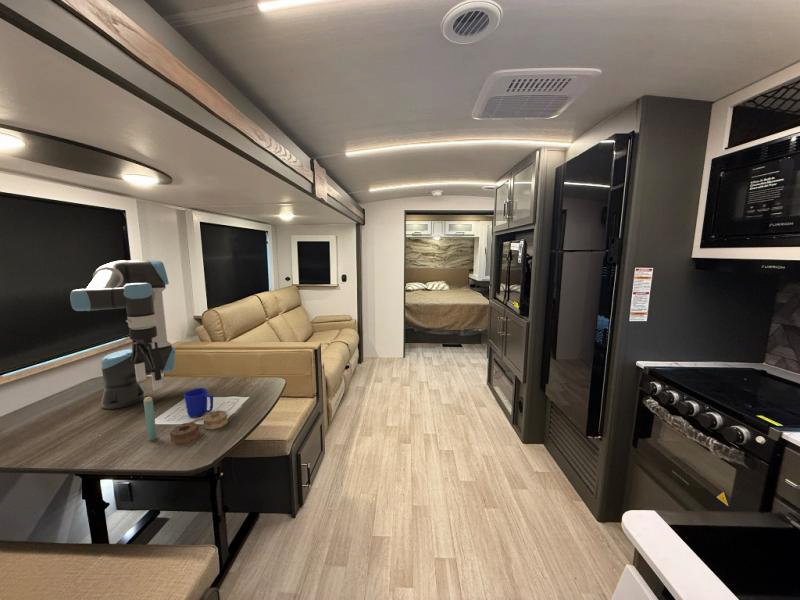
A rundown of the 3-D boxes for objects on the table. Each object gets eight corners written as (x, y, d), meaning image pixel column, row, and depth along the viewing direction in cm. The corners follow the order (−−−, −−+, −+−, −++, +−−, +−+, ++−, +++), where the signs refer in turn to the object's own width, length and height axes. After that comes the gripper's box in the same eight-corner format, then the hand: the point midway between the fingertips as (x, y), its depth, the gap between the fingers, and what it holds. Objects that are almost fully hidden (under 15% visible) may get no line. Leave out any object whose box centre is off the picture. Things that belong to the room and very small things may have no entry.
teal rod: (147, 439, 114) (142, 397, 112) (155, 435, 116) (150, 394, 114) (149, 441, 113) (144, 399, 110) (158, 437, 115) (153, 396, 112)
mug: (206, 421, 126) (203, 398, 125) (181, 418, 129) (178, 395, 127) (221, 411, 134) (219, 389, 133) (197, 408, 137) (195, 387, 135)
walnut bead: (168, 438, 114) (167, 430, 114) (191, 428, 121) (191, 420, 120) (178, 446, 110) (177, 436, 110) (202, 435, 117) (201, 426, 116)
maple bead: (199, 428, 121) (198, 419, 121) (214, 417, 129) (213, 409, 129) (217, 430, 120) (216, 421, 120) (231, 419, 128) (231, 411, 127)
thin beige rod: (174, 429, 120) (174, 428, 120) (173, 429, 121) (173, 427, 120) (213, 414, 132) (213, 412, 132) (212, 413, 133) (212, 411, 132)
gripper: (115, 324, 112) (122, 380, 115) (145, 334, 99) (152, 396, 103) (140, 321, 119) (147, 373, 122) (171, 329, 106) (178, 388, 109)
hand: (149, 384), depth 112 cm, fingers open, 13 cm apart
